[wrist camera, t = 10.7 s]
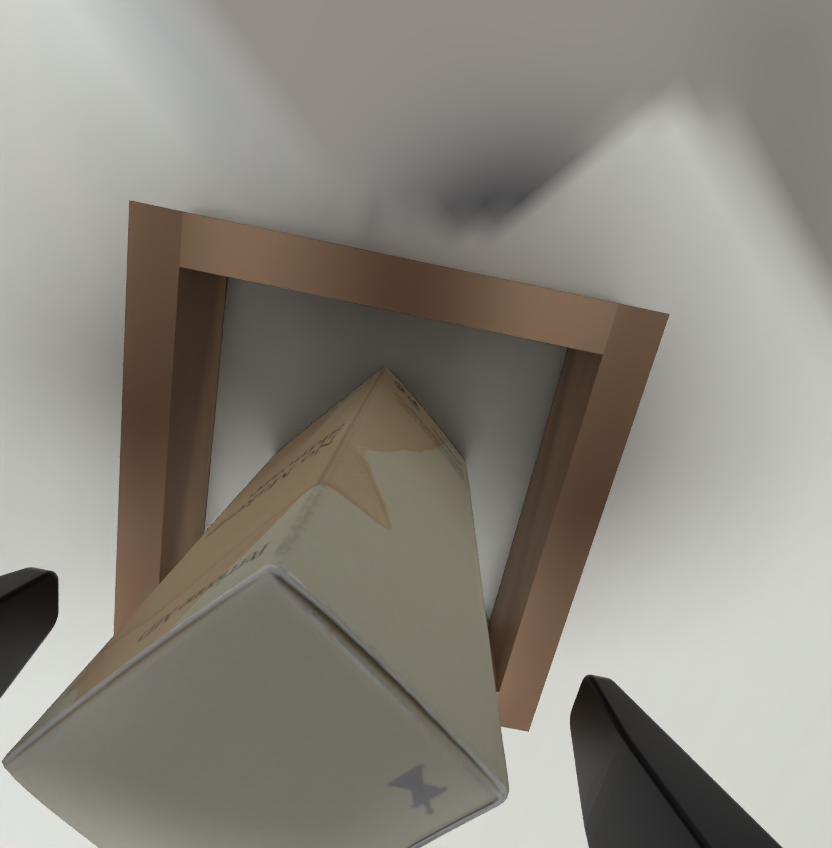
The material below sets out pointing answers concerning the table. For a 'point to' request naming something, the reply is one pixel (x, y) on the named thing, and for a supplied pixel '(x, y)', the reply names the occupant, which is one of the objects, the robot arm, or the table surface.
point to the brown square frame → (396, 291)
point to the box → (297, 661)
